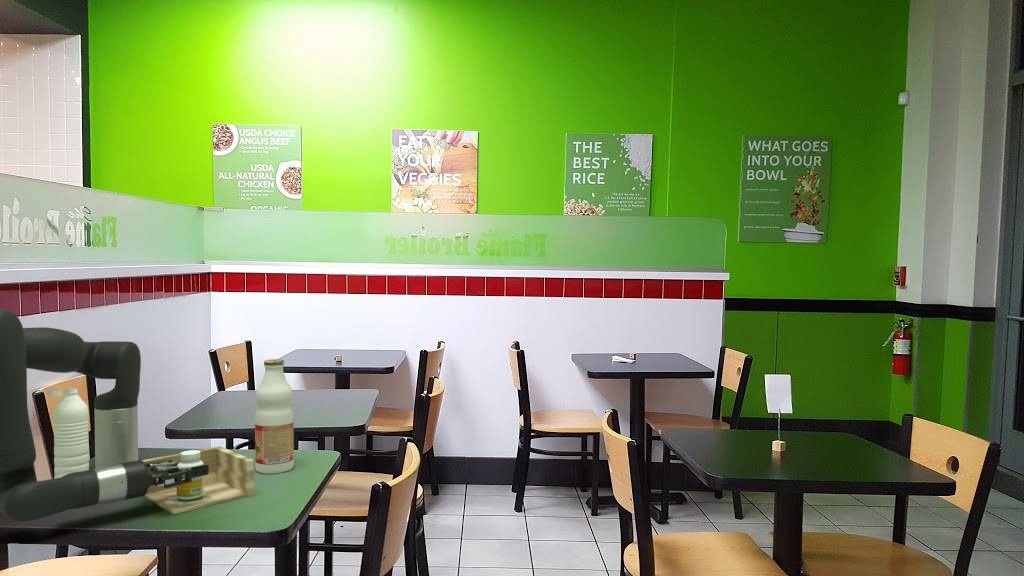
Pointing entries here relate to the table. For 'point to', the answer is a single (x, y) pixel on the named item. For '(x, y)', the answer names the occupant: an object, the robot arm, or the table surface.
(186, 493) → the supplement bottle
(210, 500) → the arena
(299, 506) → the table surface
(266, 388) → the fruit juice
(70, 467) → the water bottle
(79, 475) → the robot arm
